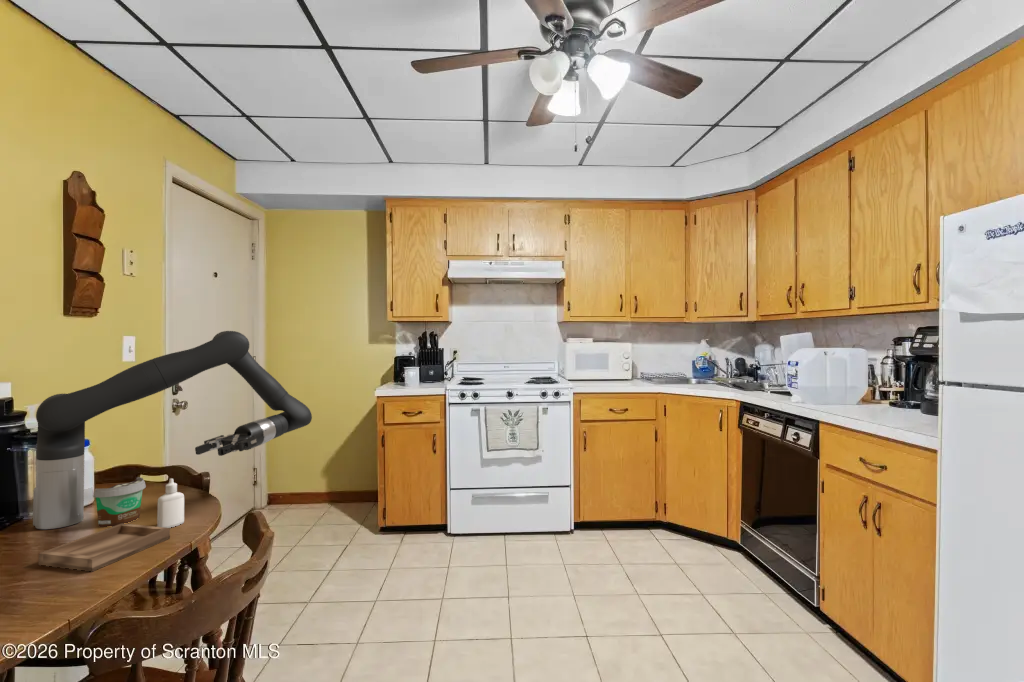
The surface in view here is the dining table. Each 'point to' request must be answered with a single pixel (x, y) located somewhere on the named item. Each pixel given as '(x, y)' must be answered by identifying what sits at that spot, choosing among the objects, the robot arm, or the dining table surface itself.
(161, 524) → the eye dropper bottle
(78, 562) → the walnut tray
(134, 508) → the food container
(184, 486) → the dining table surface
